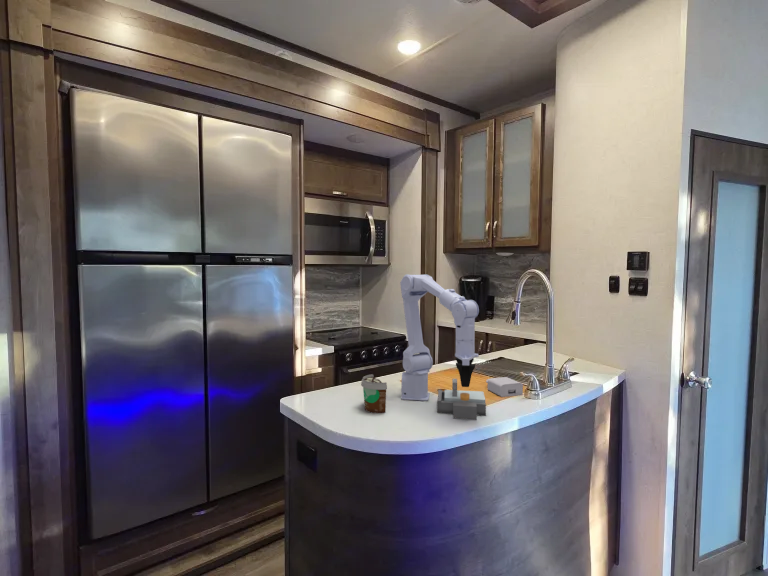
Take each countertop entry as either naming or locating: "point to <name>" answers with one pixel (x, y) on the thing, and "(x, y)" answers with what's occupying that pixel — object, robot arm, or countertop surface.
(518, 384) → the charger
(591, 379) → the countertop surface
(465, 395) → the plunger
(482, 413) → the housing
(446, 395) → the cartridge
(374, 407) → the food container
